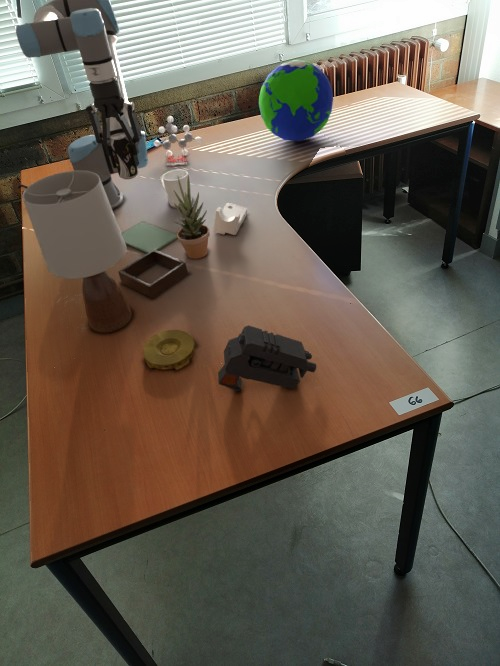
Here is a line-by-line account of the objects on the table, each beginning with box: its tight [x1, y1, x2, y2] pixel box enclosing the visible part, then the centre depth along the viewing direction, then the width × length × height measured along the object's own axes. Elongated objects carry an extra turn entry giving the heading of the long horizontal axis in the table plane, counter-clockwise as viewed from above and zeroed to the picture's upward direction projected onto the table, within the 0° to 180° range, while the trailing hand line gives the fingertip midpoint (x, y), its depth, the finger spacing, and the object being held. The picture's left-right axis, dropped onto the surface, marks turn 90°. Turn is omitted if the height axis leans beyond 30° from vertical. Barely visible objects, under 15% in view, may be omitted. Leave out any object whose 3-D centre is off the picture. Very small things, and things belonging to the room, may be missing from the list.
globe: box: [258, 59, 334, 142], centre depth 202 cm, size 30×30×30 cm
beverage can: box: [110, 133, 139, 180], centre depth 144 cm, size 6×6×12 cm
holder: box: [117, 250, 189, 300], centre depth 142 cm, size 14×14×4 cm
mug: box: [159, 168, 193, 209], centre depth 175 cm, size 11×9×10 cm
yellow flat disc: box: [142, 329, 196, 371], centre depth 118 cm, size 12×12×2 cm
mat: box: [121, 221, 178, 254], centre depth 161 cm, size 18×12×1 cm, turn 50°
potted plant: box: [173, 174, 211, 260], centre depth 143 cm, size 10×10×25 cm
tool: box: [217, 324, 317, 392], centre depth 105 cm, size 6×19×15 cm, turn 95°
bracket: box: [213, 202, 248, 236], centre depth 160 cm, size 13×7×8 cm, turn 165°
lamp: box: [22, 170, 132, 334], centre depth 119 cm, size 19×19×37 cm
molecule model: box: [153, 115, 202, 167], centre depth 204 cm, size 20×16×16 cm
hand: (126, 165), depth 146 cm, fingers closed on beverage can, 6 cm apart
